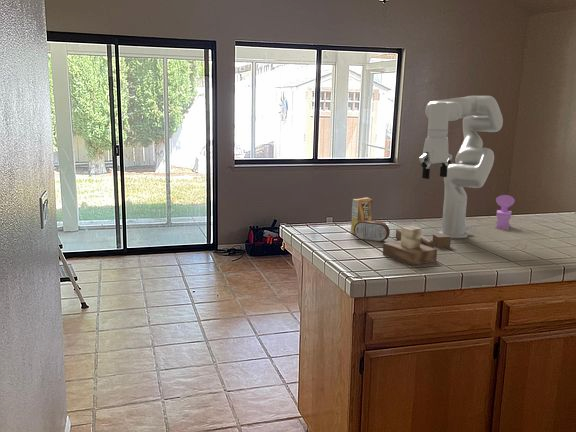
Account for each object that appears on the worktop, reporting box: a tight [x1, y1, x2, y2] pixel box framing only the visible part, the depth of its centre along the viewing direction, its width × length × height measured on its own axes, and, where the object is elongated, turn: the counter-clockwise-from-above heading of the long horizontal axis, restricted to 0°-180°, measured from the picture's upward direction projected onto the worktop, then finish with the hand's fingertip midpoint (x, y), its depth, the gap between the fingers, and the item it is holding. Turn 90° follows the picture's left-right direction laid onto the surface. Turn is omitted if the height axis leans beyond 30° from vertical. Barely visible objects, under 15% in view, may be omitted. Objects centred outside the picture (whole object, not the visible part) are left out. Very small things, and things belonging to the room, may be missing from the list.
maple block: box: [401, 225, 422, 249], centre depth 202 cm, size 5×5×7 cm
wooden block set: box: [395, 228, 452, 249], centre depth 225 cm, size 17×6×18 cm
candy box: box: [350, 197, 373, 235], centre depth 240 cm, size 9×4×15 cm, turn 129°
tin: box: [354, 220, 391, 243], centre depth 227 cm, size 15×3×8 cm, turn 65°
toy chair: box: [495, 194, 516, 230], centre depth 256 cm, size 8×9×15 cm
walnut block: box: [382, 240, 438, 266], centre depth 203 cm, size 12×16×5 cm
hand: (434, 177), depth 215 cm, fingers open, 9 cm apart
